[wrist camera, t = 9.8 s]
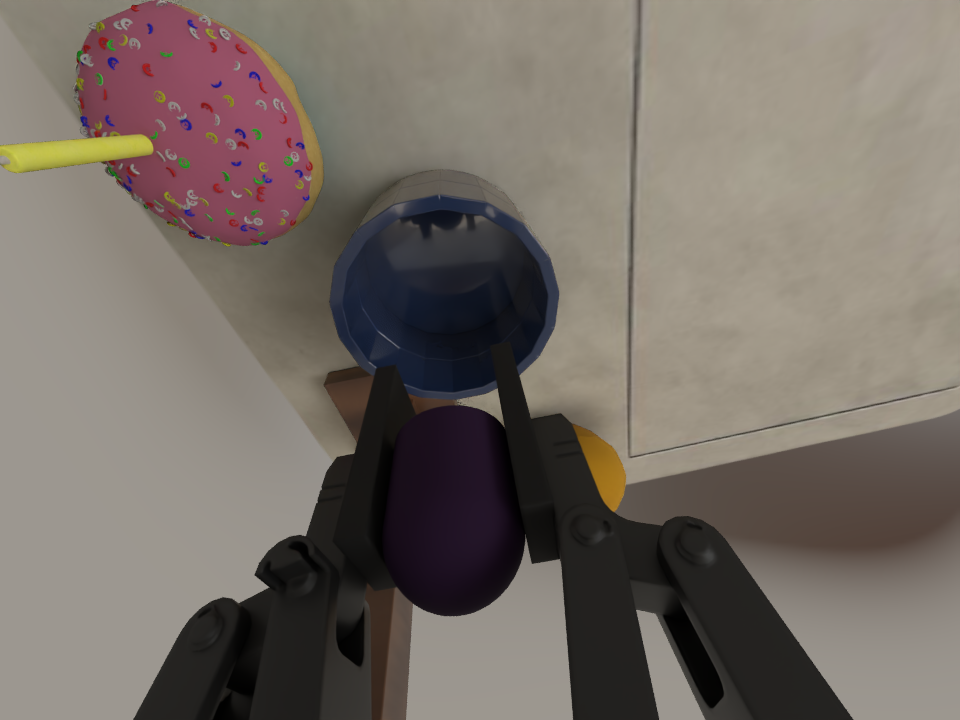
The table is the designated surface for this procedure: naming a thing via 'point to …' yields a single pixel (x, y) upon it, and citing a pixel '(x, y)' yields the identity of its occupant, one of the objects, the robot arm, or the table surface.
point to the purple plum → (452, 511)
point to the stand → (385, 605)
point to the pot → (443, 285)
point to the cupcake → (190, 125)
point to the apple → (603, 466)
